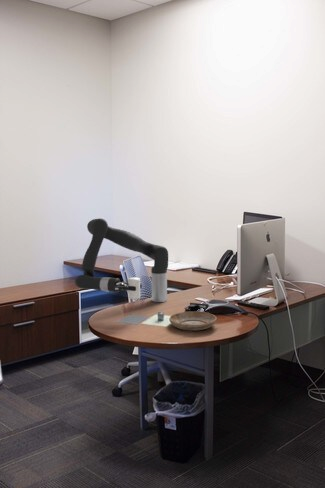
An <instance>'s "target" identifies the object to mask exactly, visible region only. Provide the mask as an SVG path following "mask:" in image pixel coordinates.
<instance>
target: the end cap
mask: <svg viewBox="0 0 325 488" xmlns="http://www.w3.org/2000/svg"><path fill="white" fill-rule="evenodd" d="M208 307H209V308H210V305H209V304H208V303H199V302H198V303H197V302H190V303H189V306H188V308H187V309H188V311H187V312H196V311H197V310H198V309H200V308H203V309H204V311H205V310H206V309H207V308H208ZM205 312H206V313H210V311H209V312H208V311H205Z"/></svg>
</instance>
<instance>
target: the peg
mask: <svg viewBox="0 0 325 488" xmlns="http://www.w3.org/2000/svg"><path fill="white" fill-rule="evenodd" d="M157 314H158V321H164V315H165V312H164V311H158V312H157Z"/></svg>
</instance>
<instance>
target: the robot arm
mask: <svg viewBox="0 0 325 488" xmlns="http://www.w3.org/2000/svg"><path fill="white" fill-rule="evenodd" d="M86 226H87V231H88V232H89V233H90V235H92V236H91V237H92V238H91V241H90V243H89V246H88V248H86V249H87V250H86V251H85V254H84V256H83V259H82V263H81V270H82V272H83V274H81V275H78V276H77V277H76V278H75V279H74V283H75V285H76V287H77V288H80V289H83V290H86V291H87V290H96V291H102V292H107V293H108V292H109V293H119V292H129V290H130V291H136V287H135V286H128V280H126V281H121V279H120V278H119V277H117V278H116V277H108V276H107V277H106V276H105V277H99V276H95V267H96V262H97V260H98V255H99V252H100V249H101V247H102V244H103V241H104V239H105V240H108V241H111V242H112V243H114V244H116V245H118V246H120V247H123V248H125V249H128V250H130V251H133V252H137V253H140V254H143V255H144V256H146V257H147V258H150V259H151V260H152V261H153V264H154V265H153V266H152V267H151V268H150V269H151V275H150V276H151V301H152V302H154V303H165V302H168V273H167V272H168V271H167V270H168V269H169V251H168V249H167V248H166V247H165V246H163V245H158V244H154V243H151V242H149V241H145V240H143V239H142V238H141V237H140V236H139V235H136V234H134V233H131V232H130V231H127V230H124V229H120V228H115V227H111V226H109V224H108V222H107V221H106V219H104V218H94V219H91V220H90V221H89V222H87V225H86ZM141 288H143V285H142V283H140V289H141Z"/></svg>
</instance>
